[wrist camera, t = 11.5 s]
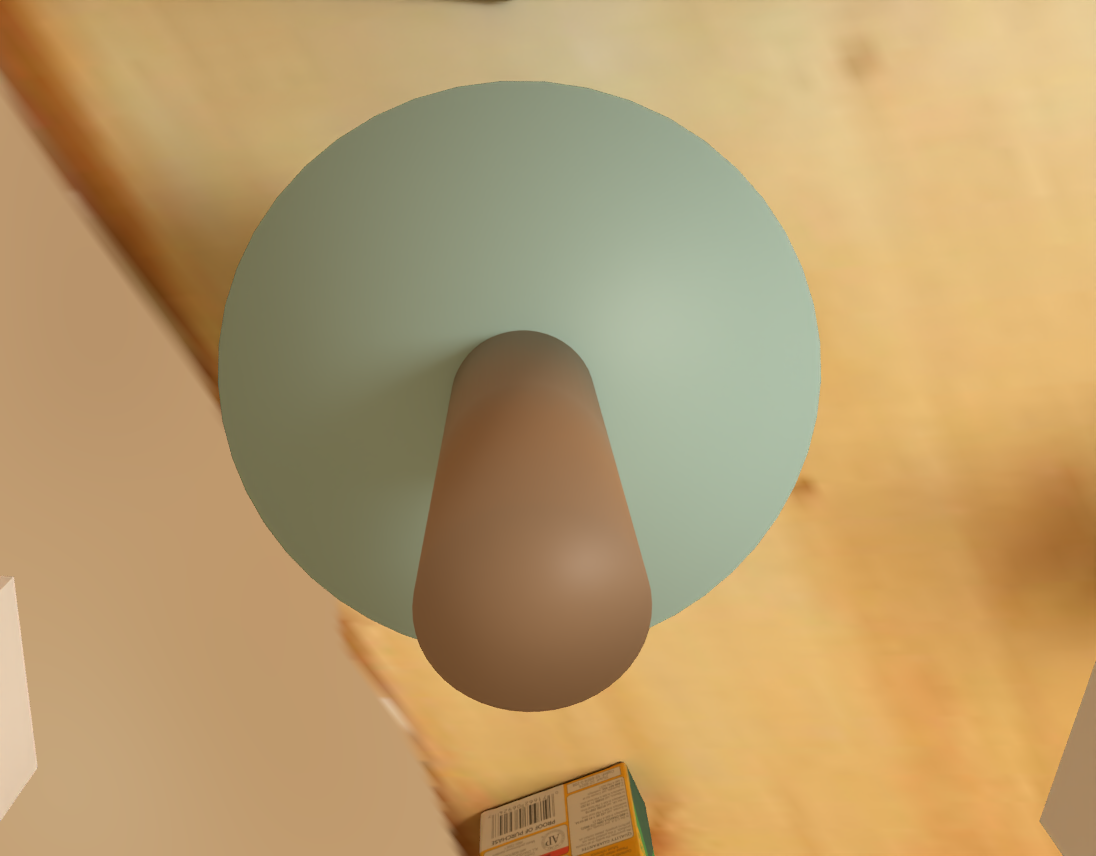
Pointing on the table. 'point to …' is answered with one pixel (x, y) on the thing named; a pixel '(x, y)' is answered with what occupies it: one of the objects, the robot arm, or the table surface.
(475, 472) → the lid
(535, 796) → the crayon box
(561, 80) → the table surface
